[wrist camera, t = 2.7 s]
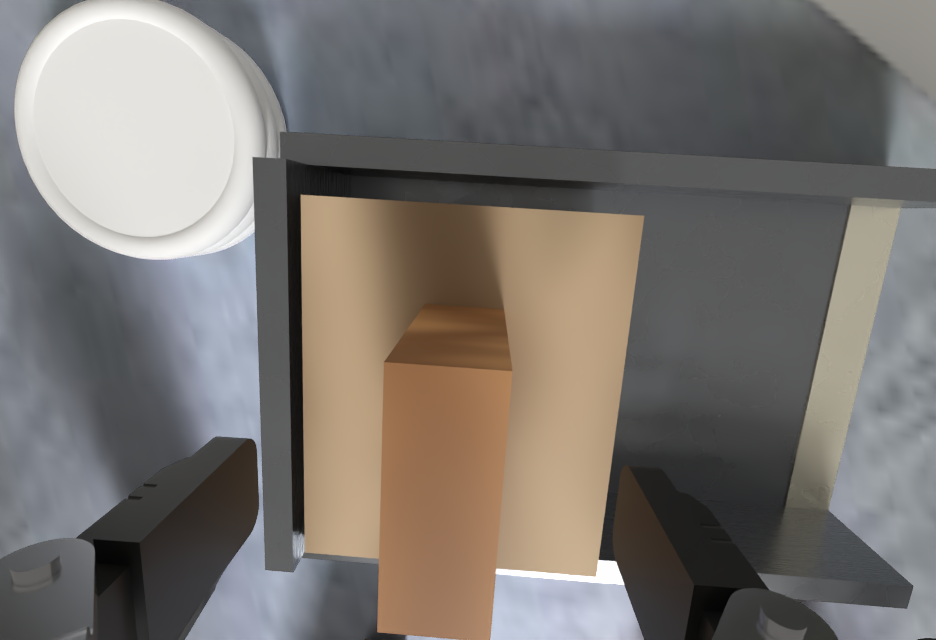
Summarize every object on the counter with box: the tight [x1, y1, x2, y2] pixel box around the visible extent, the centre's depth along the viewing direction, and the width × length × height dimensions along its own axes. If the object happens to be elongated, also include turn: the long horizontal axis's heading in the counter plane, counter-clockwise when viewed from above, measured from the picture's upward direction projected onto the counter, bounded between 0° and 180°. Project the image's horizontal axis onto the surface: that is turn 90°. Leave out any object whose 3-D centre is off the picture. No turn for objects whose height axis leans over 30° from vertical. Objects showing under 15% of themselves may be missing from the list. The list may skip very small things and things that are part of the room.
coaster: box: [14, 0, 287, 260], centre depth 21 cm, size 10×10×4 cm
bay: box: [252, 132, 936, 609], centre depth 20 cm, size 24×16×8 cm, turn 87°
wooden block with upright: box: [301, 195, 644, 640], centre depth 16 cm, size 10×12×13 cm
